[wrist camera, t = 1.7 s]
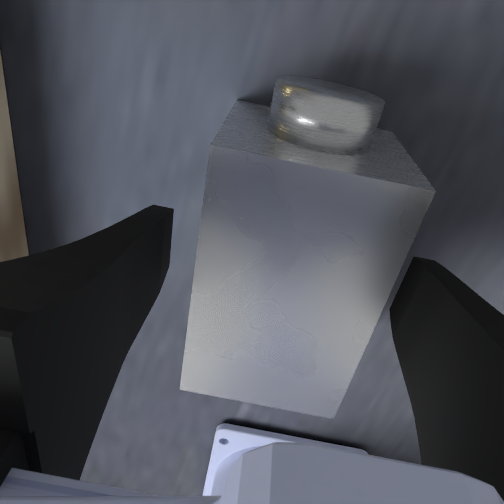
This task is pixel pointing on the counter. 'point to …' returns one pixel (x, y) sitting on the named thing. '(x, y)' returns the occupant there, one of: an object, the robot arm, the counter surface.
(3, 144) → the wood stand
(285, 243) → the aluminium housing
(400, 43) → the counter surface
